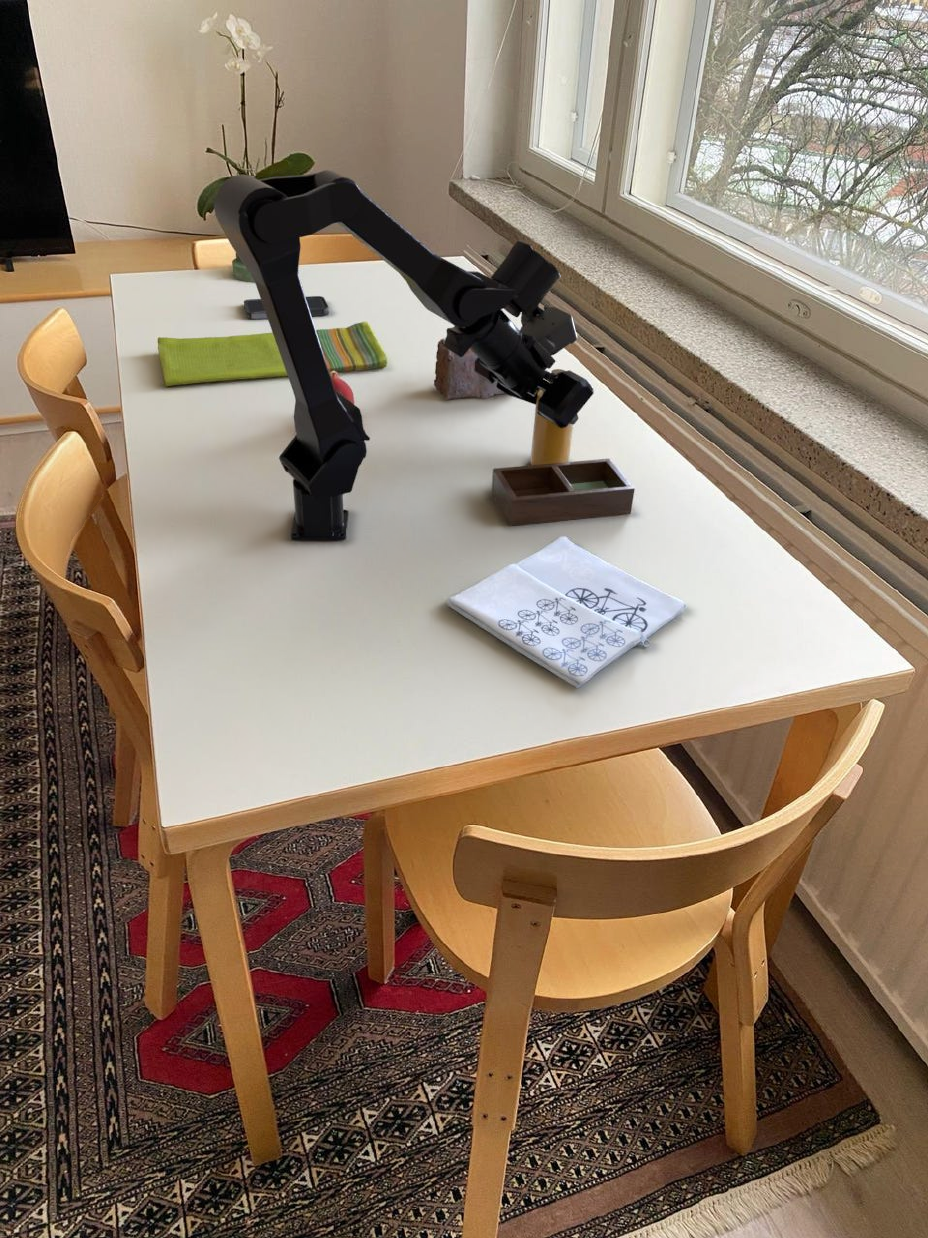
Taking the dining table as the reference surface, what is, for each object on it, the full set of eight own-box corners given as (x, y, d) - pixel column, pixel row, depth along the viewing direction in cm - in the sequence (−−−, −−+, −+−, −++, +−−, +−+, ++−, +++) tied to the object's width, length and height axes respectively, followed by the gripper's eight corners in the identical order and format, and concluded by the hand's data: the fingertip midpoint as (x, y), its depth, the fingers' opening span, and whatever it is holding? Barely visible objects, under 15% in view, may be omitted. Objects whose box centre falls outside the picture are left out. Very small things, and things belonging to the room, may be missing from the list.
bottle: (570, 472, 125) (582, 379, 118) (532, 471, 125) (541, 379, 117) (565, 454, 129) (576, 364, 122) (528, 454, 129) (536, 363, 121)
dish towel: (390, 369, 153) (390, 350, 151) (165, 389, 142) (162, 369, 141) (368, 337, 164) (367, 319, 162) (158, 353, 154) (155, 334, 152)
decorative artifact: (292, 276, 190) (267, 264, 196) (289, 240, 186) (264, 229, 192) (248, 284, 185) (224, 272, 191) (245, 248, 181) (220, 236, 187)
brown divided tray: (491, 493, 120) (492, 468, 118) (605, 482, 124) (609, 458, 122) (510, 526, 114) (512, 500, 112) (630, 513, 118) (634, 488, 115)
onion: (347, 435, 132) (345, 381, 127) (309, 430, 133) (305, 377, 128) (359, 418, 136) (358, 366, 132) (322, 414, 137) (319, 361, 132)
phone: (329, 308, 172) (247, 313, 168) (329, 315, 172) (247, 319, 169) (322, 295, 178) (243, 299, 174) (323, 301, 178) (243, 305, 175)
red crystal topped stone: (509, 377, 152) (514, 317, 146) (529, 396, 146) (534, 334, 140) (430, 385, 148) (432, 324, 142) (448, 405, 142) (450, 342, 136)
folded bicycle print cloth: (441, 608, 100) (442, 591, 98) (564, 542, 111) (566, 527, 110) (578, 696, 89) (580, 678, 88) (697, 613, 101) (701, 597, 99)
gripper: (591, 314, 105) (648, 390, 117) (499, 270, 118) (559, 342, 129) (528, 392, 106) (591, 460, 118) (444, 340, 119) (508, 406, 130)
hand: (562, 413), depth 124 cm, fingers closed on bottle, 5 cm apart
